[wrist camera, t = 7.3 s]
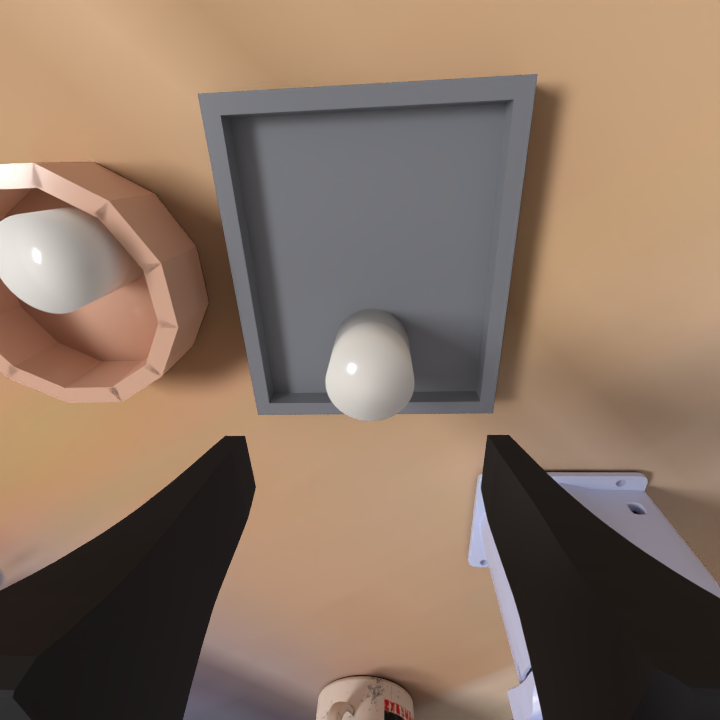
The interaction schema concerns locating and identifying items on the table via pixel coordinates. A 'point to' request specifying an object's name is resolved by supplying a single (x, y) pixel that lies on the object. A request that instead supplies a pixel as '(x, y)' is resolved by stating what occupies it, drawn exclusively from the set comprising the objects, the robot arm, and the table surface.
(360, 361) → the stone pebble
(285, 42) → the table surface
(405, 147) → the parts tray
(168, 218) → the bowl
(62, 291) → the white egg
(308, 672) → the table surface
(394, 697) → the teacup with lid
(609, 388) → the table surface
